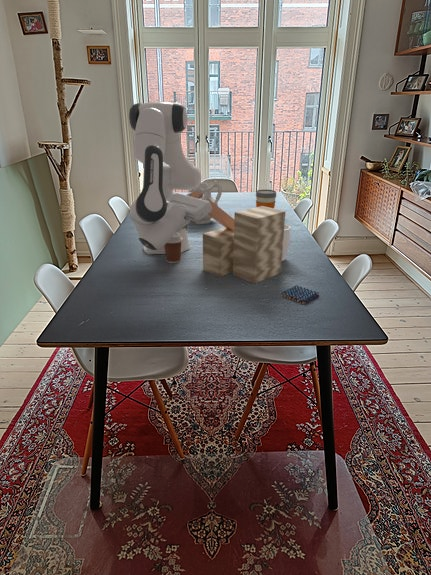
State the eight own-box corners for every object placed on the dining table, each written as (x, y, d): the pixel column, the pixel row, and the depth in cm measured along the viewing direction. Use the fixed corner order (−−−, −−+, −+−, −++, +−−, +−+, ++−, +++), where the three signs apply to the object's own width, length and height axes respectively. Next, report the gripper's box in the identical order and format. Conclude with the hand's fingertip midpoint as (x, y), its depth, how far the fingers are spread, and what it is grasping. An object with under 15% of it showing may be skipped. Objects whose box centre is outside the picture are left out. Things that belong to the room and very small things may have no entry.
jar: (269, 263, 177) (272, 230, 170) (261, 255, 186) (263, 224, 179) (292, 261, 179) (295, 229, 173) (282, 253, 188) (285, 222, 182)
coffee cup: (164, 265, 175) (163, 238, 170) (161, 258, 183) (160, 232, 178) (185, 263, 177) (184, 237, 172) (181, 256, 185) (180, 231, 180)
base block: (219, 276, 163) (219, 239, 157) (203, 269, 170) (202, 233, 163) (239, 269, 171) (241, 233, 164) (223, 262, 177) (224, 227, 171)
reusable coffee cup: (276, 218, 245) (277, 193, 239) (255, 218, 245) (256, 193, 239) (273, 213, 256) (275, 189, 250) (254, 213, 257) (255, 189, 250)
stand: (254, 283, 158) (257, 218, 147) (233, 274, 166) (234, 212, 155) (280, 273, 167) (285, 211, 156) (259, 265, 175) (262, 205, 164)
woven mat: (295, 288, 155) (295, 283, 154) (319, 296, 148) (320, 291, 148) (279, 297, 148) (280, 292, 147) (304, 306, 141) (305, 301, 141)
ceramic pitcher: (223, 220, 245) (223, 177, 237) (220, 226, 227) (220, 181, 219) (188, 219, 247) (187, 177, 239) (182, 225, 229) (181, 180, 220)
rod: (196, 202, 146) (200, 192, 147) (188, 200, 149) (193, 190, 149) (235, 232, 168) (239, 223, 169) (228, 229, 171) (232, 221, 171)
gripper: (191, 214, 136) (218, 189, 141) (157, 204, 150) (182, 181, 154) (199, 228, 141) (224, 203, 145) (164, 217, 154) (188, 194, 159)
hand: (202, 192), depth 150 cm, fingers closed on rod, 4 cm apart
